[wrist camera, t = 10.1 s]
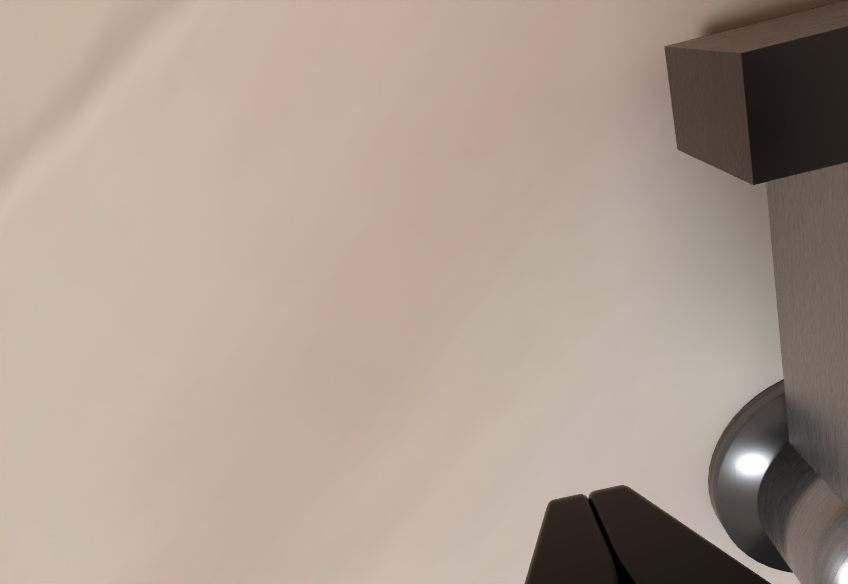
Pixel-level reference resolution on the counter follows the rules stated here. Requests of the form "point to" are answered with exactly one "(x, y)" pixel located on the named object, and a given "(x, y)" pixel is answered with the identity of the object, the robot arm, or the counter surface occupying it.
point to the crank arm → (789, 244)
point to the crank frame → (749, 472)
